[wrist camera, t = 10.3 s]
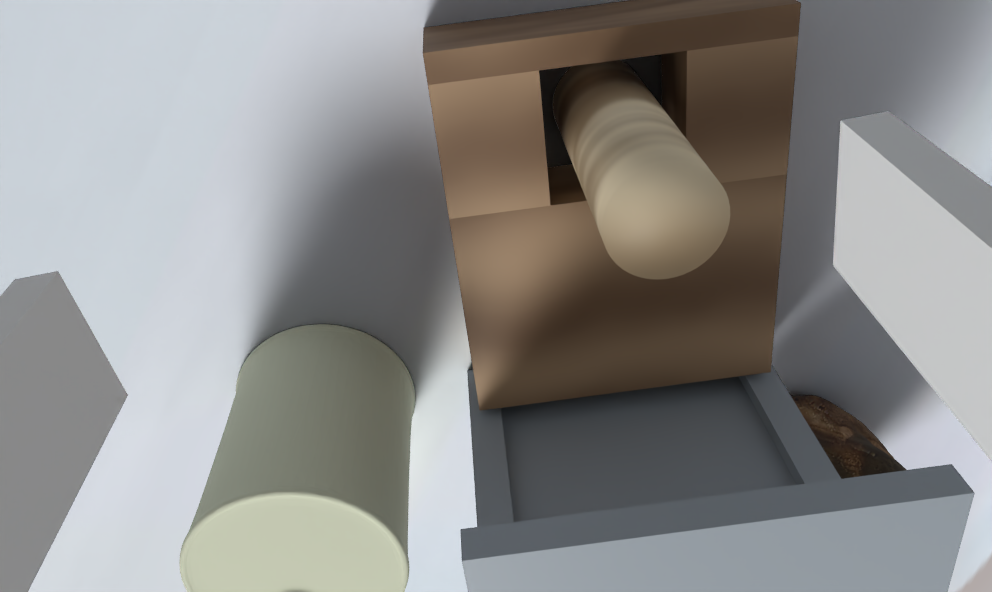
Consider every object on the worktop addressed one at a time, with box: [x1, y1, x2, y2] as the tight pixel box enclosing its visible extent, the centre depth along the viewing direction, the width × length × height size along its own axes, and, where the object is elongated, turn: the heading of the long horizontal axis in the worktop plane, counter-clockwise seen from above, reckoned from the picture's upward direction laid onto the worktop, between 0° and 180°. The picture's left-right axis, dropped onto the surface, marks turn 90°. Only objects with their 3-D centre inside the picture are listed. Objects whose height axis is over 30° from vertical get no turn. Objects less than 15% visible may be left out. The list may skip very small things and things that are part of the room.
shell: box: [791, 395, 906, 479], centre depth 42 cm, size 11×11×12 cm
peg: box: [553, 60, 730, 279], centre depth 30 cm, size 4×4×12 cm
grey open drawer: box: [461, 365, 974, 592], centre depth 33 cm, size 8×15×18 cm, turn 96°
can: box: [180, 324, 415, 592], centre depth 37 cm, size 9×9×12 cm
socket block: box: [423, 0, 801, 411], centre depth 36 cm, size 17×14×4 cm
